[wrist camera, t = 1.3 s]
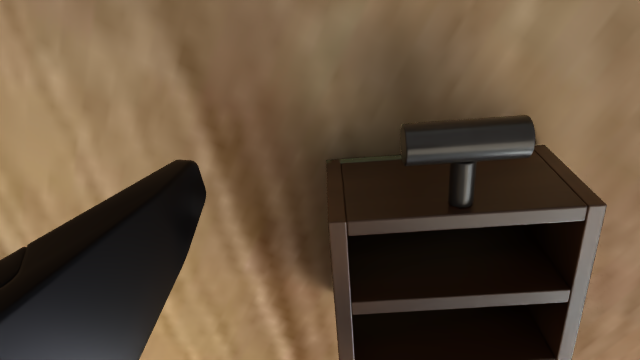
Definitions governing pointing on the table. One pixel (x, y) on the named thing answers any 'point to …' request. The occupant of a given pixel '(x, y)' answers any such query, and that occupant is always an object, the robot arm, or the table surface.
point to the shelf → (461, 246)
